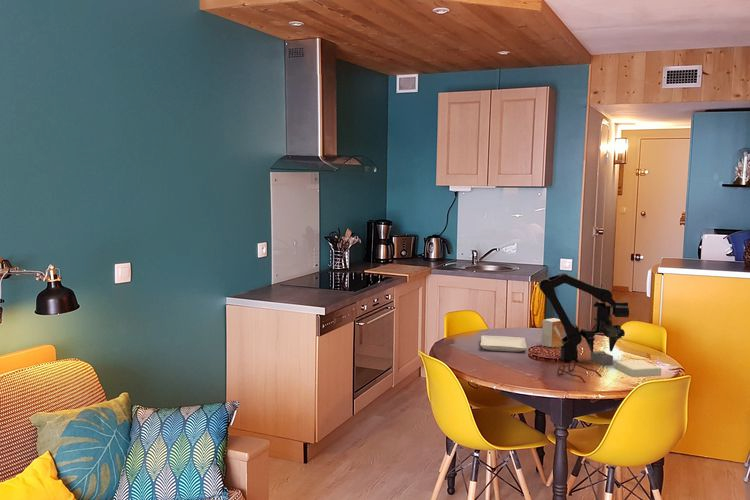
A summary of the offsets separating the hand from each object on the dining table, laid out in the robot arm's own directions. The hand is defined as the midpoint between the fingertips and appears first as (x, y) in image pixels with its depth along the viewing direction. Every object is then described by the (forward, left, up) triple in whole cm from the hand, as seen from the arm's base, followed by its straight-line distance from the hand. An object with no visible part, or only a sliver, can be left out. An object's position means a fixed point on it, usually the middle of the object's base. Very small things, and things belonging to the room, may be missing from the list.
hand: (601, 351), depth 286 cm
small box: (-8, +30, -5) cm, 31 cm away
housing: (0, 0, -5) cm, 5 cm away
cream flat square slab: (-32, +33, -5) cm, 46 cm away
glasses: (-20, -18, -5) cm, 28 cm away
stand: (+7, -16, -5) cm, 18 cm away
